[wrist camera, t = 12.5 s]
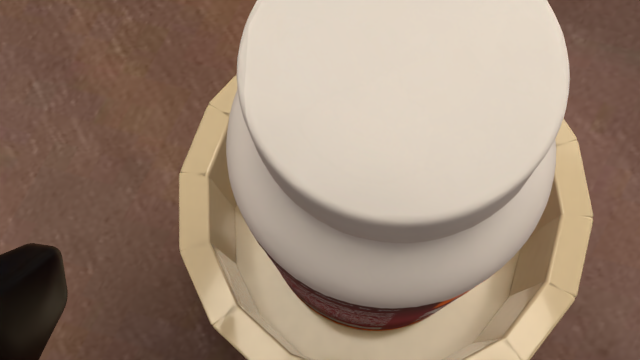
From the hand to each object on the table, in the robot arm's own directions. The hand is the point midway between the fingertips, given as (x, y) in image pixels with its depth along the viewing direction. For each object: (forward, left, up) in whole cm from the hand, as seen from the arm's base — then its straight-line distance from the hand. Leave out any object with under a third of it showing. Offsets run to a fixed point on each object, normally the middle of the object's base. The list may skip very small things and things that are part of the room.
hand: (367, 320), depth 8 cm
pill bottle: (+3, -1, -10) cm, 11 cm away
